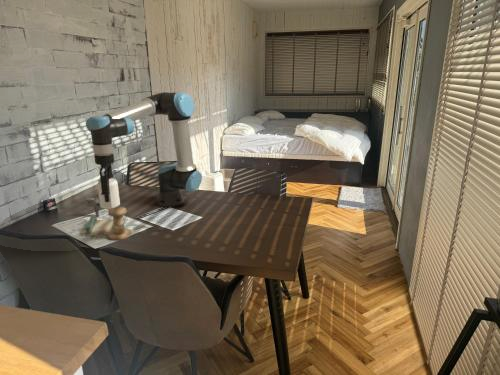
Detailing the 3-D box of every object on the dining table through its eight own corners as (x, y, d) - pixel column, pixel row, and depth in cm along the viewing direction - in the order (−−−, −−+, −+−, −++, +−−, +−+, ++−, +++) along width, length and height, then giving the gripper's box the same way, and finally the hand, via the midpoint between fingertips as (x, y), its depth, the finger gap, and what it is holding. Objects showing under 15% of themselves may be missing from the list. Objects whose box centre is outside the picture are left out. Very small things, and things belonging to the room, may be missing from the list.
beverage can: (108, 211, 146) (104, 184, 142) (96, 207, 150) (92, 180, 147) (124, 205, 153) (121, 179, 149) (112, 201, 157) (109, 176, 153)
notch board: (124, 220, 182) (123, 212, 180) (120, 232, 167) (120, 224, 166) (91, 222, 178) (90, 215, 177) (85, 236, 163) (84, 227, 162)
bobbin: (132, 230, 170) (129, 205, 166) (130, 239, 161) (127, 213, 157) (110, 232, 168) (107, 207, 164) (107, 241, 158) (104, 214, 154)
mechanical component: (104, 218, 184) (102, 200, 181) (87, 216, 186) (84, 199, 183) (107, 216, 187) (105, 198, 184) (90, 214, 189) (88, 197, 186)
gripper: (99, 149, 153) (105, 197, 160) (88, 160, 134) (96, 214, 141) (116, 148, 154) (122, 196, 162) (109, 159, 135) (115, 213, 142)
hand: (110, 204), depth 151 cm, fingers closed on beverage can, 8 cm apart
